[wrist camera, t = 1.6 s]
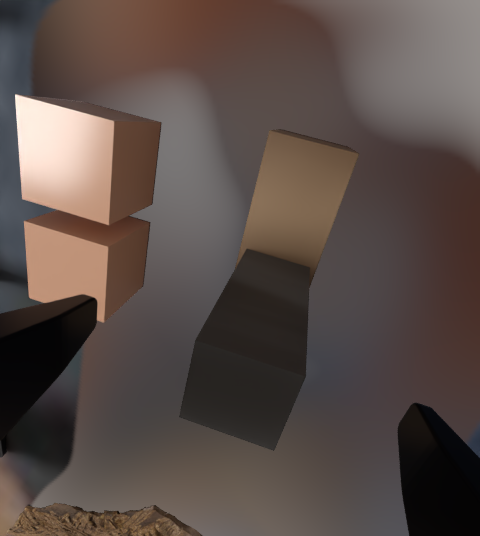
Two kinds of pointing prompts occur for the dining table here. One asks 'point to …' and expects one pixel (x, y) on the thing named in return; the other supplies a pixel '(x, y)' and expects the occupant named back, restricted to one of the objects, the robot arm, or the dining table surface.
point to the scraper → (268, 294)
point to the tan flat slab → (97, 523)
